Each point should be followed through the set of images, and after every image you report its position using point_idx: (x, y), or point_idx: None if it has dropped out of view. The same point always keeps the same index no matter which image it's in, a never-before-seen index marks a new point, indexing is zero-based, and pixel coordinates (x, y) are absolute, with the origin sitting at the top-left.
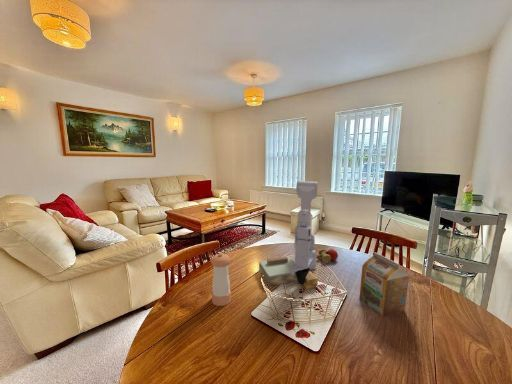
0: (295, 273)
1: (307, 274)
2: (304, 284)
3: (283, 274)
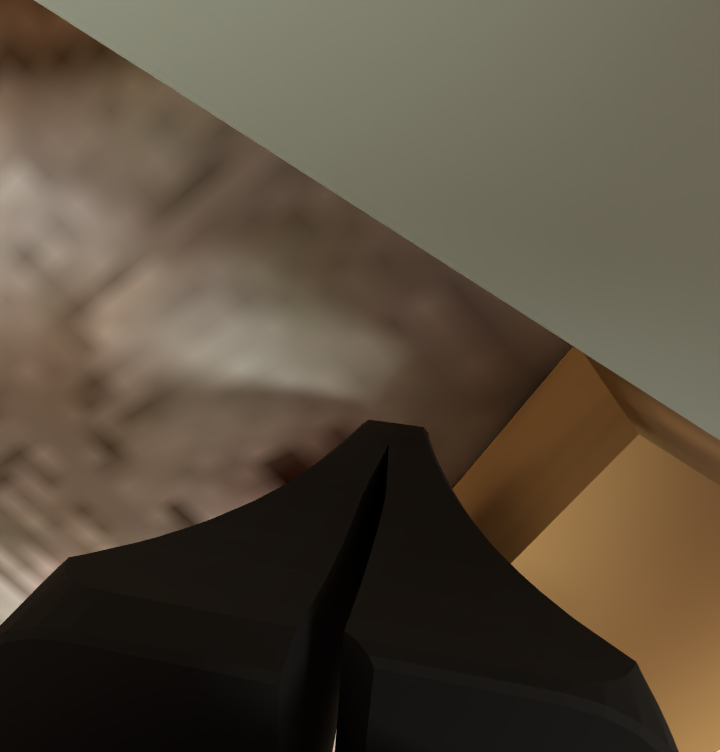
0: (209, 528)
1: (671, 608)
2: (470, 485)
3: (117, 48)
